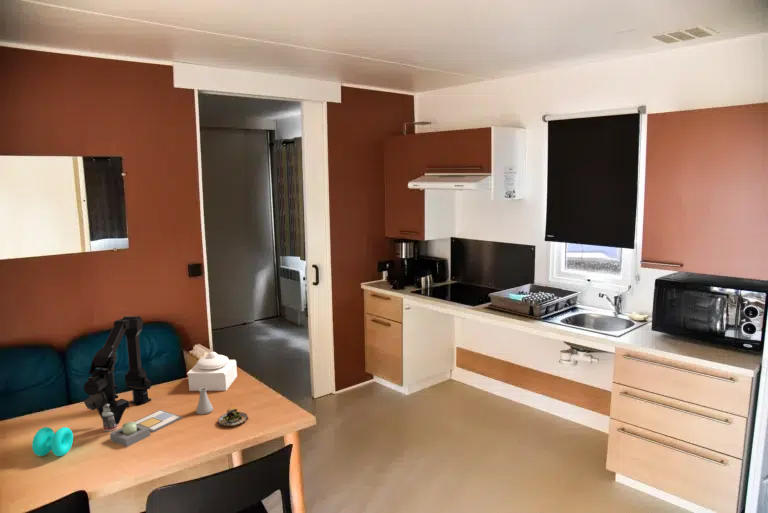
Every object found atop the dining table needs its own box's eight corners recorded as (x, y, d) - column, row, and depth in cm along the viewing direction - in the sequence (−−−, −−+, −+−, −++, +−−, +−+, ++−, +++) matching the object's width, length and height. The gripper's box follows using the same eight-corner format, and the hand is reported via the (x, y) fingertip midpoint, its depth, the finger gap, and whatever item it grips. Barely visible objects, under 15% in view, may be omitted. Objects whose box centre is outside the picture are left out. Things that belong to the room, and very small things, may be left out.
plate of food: (216, 430, 211) (215, 413, 210) (219, 417, 222) (218, 400, 221) (247, 427, 214) (246, 409, 212) (248, 414, 225) (247, 397, 224)
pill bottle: (101, 429, 213) (98, 406, 212) (114, 424, 217) (112, 401, 216) (107, 433, 210) (104, 409, 208) (120, 428, 214) (118, 405, 212)
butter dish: (226, 391, 249) (224, 358, 246) (188, 391, 249) (185, 358, 246) (237, 376, 266) (235, 346, 263) (201, 376, 266) (199, 346, 264)
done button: (120, 435, 205) (119, 425, 204) (132, 430, 209) (131, 420, 208) (128, 438, 202) (127, 428, 201) (139, 433, 206) (138, 423, 206)
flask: (216, 407, 231) (214, 385, 229) (209, 415, 224) (207, 392, 222) (200, 407, 232) (198, 385, 230) (192, 414, 225) (190, 392, 223)
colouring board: (130, 424, 217) (130, 422, 216) (160, 410, 228) (160, 409, 228) (153, 432, 210) (153, 430, 209) (182, 418, 222) (182, 416, 221)
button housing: (110, 440, 204) (109, 433, 203) (134, 429, 212) (133, 422, 212) (127, 447, 199) (126, 439, 198) (150, 435, 207) (149, 428, 207)
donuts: (50, 447, 200) (47, 422, 198) (76, 447, 199) (73, 422, 198) (32, 461, 190) (28, 435, 188) (59, 461, 190) (56, 435, 188)
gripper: (72, 387, 208) (76, 424, 211) (101, 397, 199) (105, 435, 201) (99, 377, 218) (103, 413, 220) (128, 386, 208) (132, 423, 211)
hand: (110, 421), depth 213 cm, fingers open, 9 cm apart
